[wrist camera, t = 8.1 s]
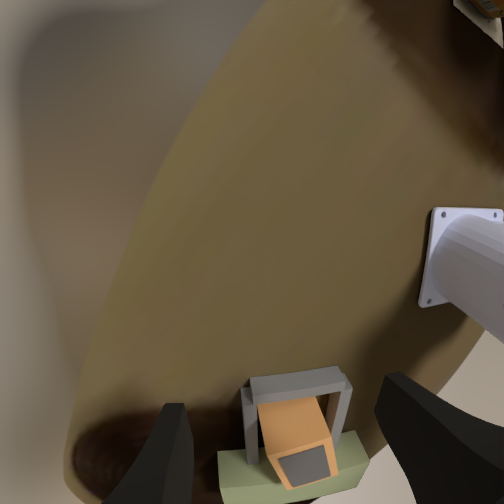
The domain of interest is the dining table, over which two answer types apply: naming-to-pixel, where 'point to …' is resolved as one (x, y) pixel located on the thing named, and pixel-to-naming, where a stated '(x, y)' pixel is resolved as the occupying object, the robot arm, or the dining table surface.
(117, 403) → the dining table surface
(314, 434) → the orange box grey panel
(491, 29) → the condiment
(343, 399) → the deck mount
